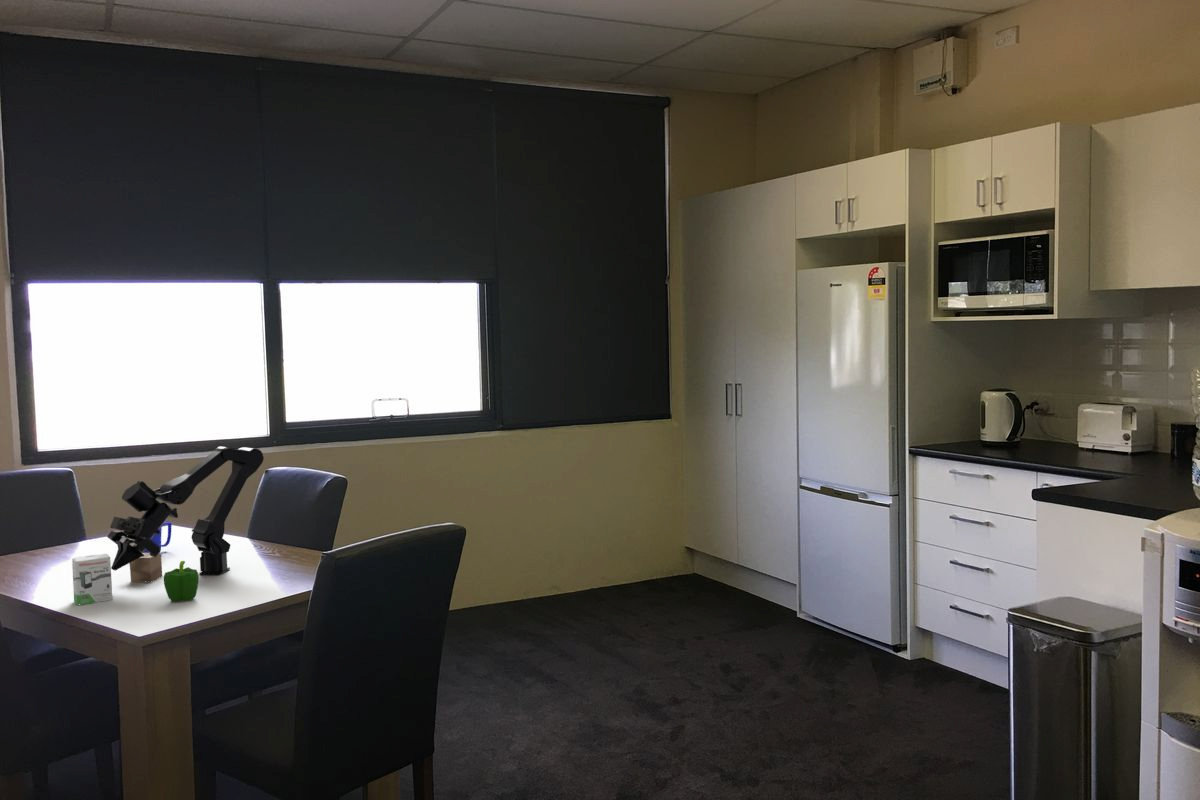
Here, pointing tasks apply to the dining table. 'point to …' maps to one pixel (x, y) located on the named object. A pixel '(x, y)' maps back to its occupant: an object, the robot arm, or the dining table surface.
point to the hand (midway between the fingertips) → (113, 569)
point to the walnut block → (146, 568)
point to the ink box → (92, 578)
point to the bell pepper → (181, 583)
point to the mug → (157, 538)
